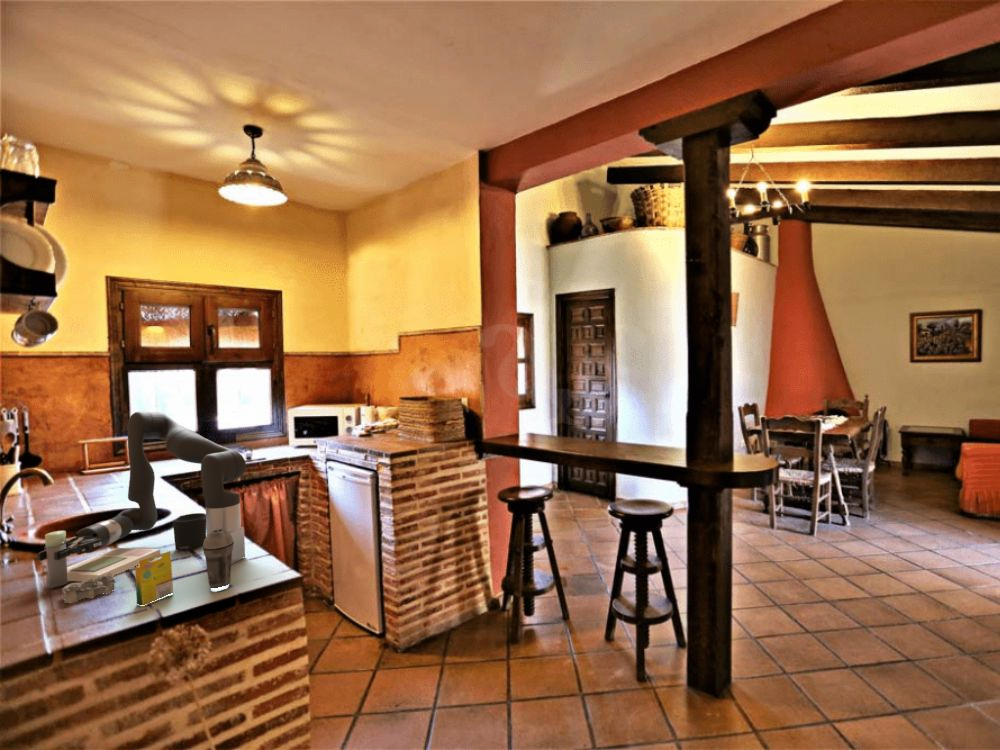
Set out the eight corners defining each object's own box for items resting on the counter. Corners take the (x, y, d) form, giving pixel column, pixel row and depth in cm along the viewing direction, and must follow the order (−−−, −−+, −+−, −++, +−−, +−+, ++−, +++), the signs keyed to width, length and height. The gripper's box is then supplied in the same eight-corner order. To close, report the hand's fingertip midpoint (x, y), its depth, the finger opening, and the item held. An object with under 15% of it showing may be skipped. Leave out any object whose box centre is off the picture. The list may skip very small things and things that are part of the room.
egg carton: (63, 607, 125) (62, 591, 125) (61, 598, 130) (61, 582, 130) (116, 593, 132) (115, 577, 132) (113, 584, 137) (112, 570, 137)
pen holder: (168, 549, 164) (167, 519, 164) (198, 540, 172) (197, 511, 172) (183, 554, 159) (181, 523, 159) (213, 544, 167) (211, 515, 167)
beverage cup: (203, 597, 127) (200, 519, 127) (205, 586, 134) (202, 512, 133) (235, 590, 131) (232, 514, 130) (235, 580, 137) (232, 508, 137)
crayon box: (168, 593, 130) (166, 549, 130) (174, 595, 129) (172, 550, 129) (135, 605, 124) (134, 558, 124) (141, 607, 122) (139, 560, 122)
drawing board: (160, 555, 158) (160, 548, 158) (99, 582, 139) (99, 574, 139) (117, 553, 161) (117, 547, 161) (52, 580, 142) (51, 572, 142)
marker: (72, 580, 138) (69, 530, 138) (56, 587, 134) (53, 535, 134) (59, 580, 139) (57, 530, 139) (43, 587, 135) (40, 535, 134)
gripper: (74, 524, 150) (19, 544, 133) (121, 522, 150) (72, 542, 133) (75, 548, 151) (21, 571, 133) (122, 547, 151) (74, 569, 133)
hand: (47, 556), depth 133 cm, fingers closed on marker, 4 cm apart
